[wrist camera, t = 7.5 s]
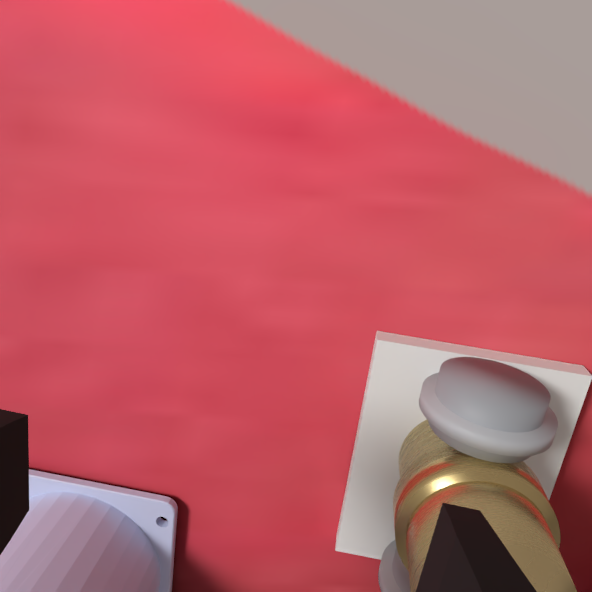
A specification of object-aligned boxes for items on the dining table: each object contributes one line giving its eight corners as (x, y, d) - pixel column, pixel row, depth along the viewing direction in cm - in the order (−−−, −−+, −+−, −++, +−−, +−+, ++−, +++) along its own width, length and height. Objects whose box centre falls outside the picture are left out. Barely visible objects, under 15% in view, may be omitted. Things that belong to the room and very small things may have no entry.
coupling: (513, 522, 20) (572, 687, 14) (384, 508, 20) (391, 662, 14) (534, 410, 18) (611, 544, 13) (395, 398, 19) (409, 521, 13)
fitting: (513, 570, 21) (548, 680, 17) (336, 535, 22) (329, 634, 18) (583, 365, 18) (646, 439, 14) (376, 330, 19) (379, 391, 15)
